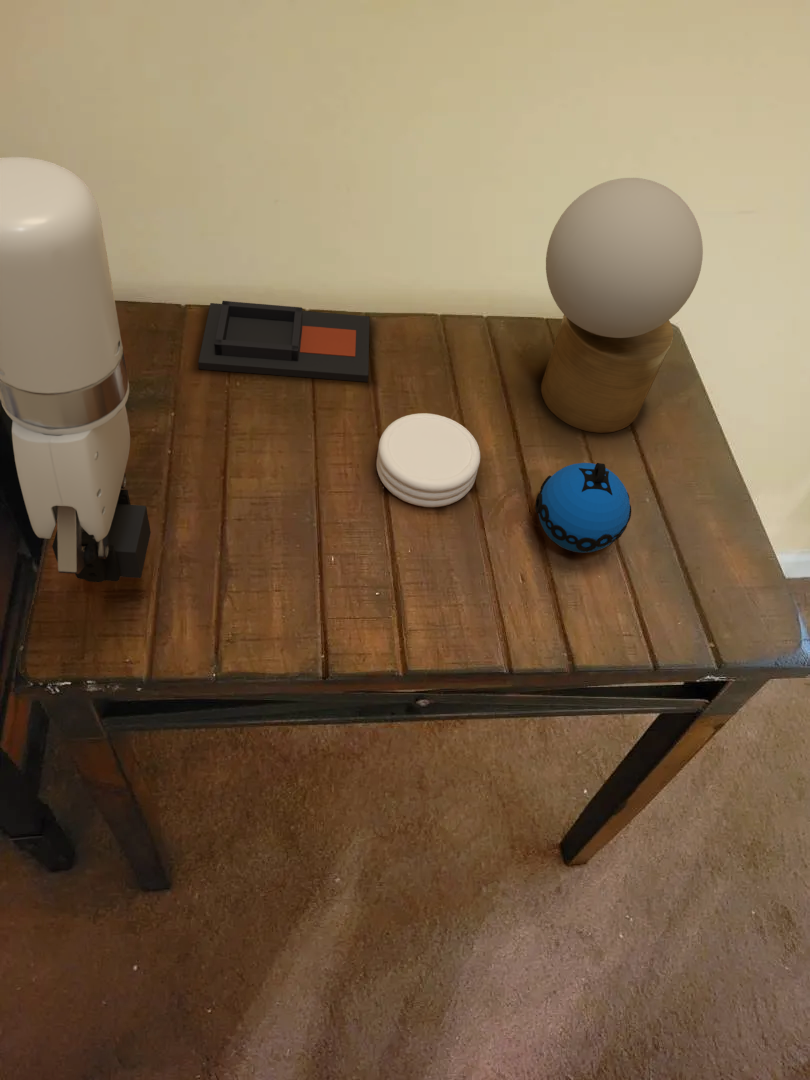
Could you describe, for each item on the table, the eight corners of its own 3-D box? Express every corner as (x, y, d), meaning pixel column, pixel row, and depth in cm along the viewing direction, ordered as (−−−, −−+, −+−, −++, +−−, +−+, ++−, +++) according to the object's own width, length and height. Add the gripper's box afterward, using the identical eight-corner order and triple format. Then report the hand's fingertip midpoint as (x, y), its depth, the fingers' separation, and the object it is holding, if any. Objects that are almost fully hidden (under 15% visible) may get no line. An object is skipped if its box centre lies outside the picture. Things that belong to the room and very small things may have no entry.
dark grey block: (60, 573, 63) (51, 546, 60) (73, 526, 66) (65, 499, 63) (141, 578, 64) (135, 552, 61) (150, 532, 66) (146, 505, 64)
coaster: (356, 476, 81) (358, 451, 78) (411, 420, 86) (415, 396, 83) (441, 526, 78) (447, 503, 75) (492, 465, 84) (499, 442, 81)
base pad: (198, 369, 87) (196, 351, 85) (210, 309, 93) (209, 291, 91) (367, 382, 89) (369, 364, 87) (368, 323, 95) (370, 305, 93)
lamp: (539, 457, 85) (615, 245, 65) (487, 367, 93) (542, 152, 73) (663, 434, 89) (771, 228, 69) (605, 349, 97) (686, 141, 77)
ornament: (619, 575, 77) (657, 509, 69) (529, 566, 77) (557, 498, 69) (609, 505, 82) (643, 435, 74) (525, 496, 82) (550, 425, 74)
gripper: (33, 281, 54) (80, 465, 69) (-48, 473, 44) (27, 640, 59) (149, 294, 55) (172, 472, 70) (96, 484, 45) (135, 647, 60)
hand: (105, 548), depth 64 cm, fingers closed on dark grey block, 4 cm apart
